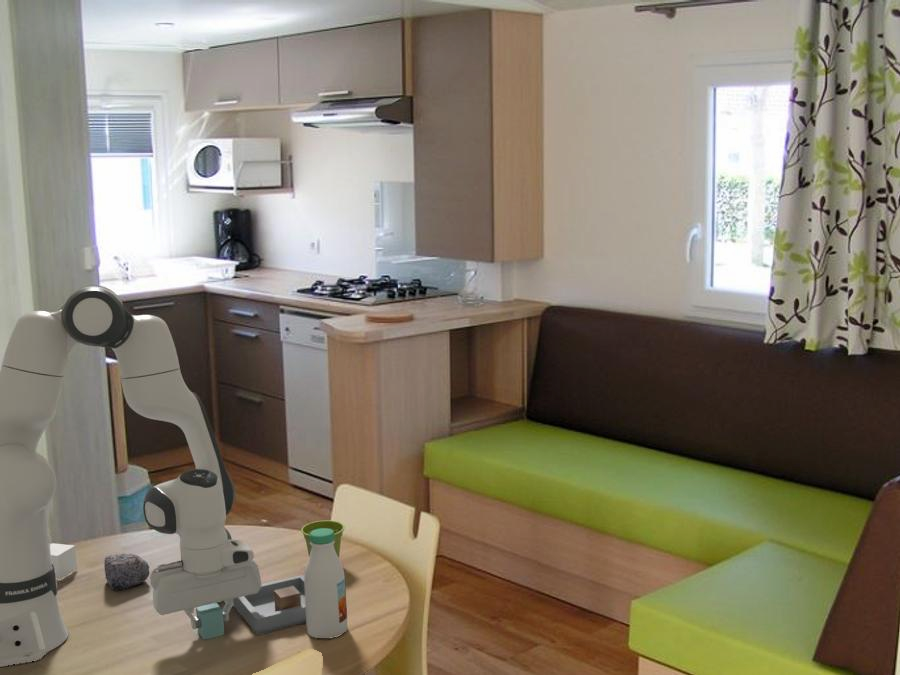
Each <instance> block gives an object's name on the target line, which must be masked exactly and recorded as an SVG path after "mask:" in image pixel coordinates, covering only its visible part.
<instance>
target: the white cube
mask: <svg viewBox="0 0 900 675" xmlns="http://www.w3.org/2000/svg"><path fill="white" fill-rule="evenodd" d="M50 553H51V563H52V564H53V566H54V568H55V571H56V578H57V579H62V578H63V577H65V576H67V575H68V574H69V573H71V572H73V571H75V570H77V569H78V561H77V551H76V545H75V544H74V545H73V544H63V543H53V542H52V543H50Z"/></svg>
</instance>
